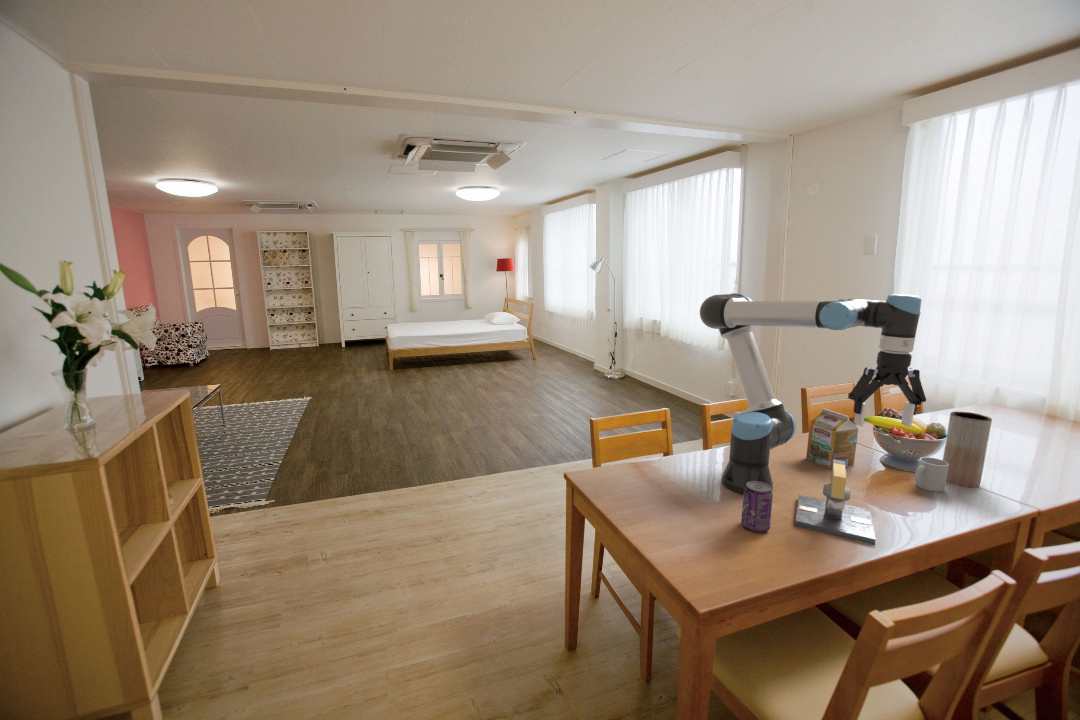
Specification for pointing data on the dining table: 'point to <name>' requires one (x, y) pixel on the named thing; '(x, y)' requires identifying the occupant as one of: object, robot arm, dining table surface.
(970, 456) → the planter
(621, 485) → the dining table surface
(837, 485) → the handle
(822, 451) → the milk carton
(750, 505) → the beverage can
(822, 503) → the post base
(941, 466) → the grey cup
